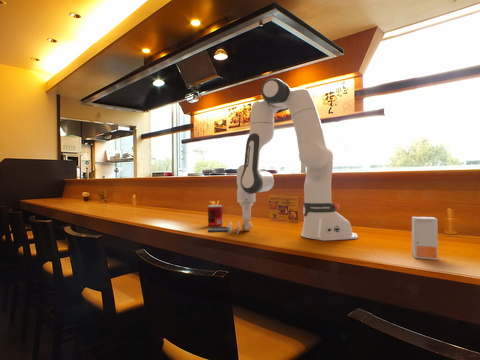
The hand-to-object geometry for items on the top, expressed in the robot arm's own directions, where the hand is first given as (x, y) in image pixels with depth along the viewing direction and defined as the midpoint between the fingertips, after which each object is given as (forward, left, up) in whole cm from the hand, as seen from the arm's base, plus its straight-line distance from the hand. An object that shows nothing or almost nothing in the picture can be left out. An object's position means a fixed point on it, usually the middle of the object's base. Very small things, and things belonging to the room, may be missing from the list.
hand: (246, 227), depth 139 cm
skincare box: (-53, +51, -2) cm, 74 cm away
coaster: (+14, -3, -2) cm, 14 cm away
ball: (0, 0, -2) cm, 2 cm away
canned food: (+17, -18, -2) cm, 25 cm away
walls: (+6, 0, -2) cm, 6 cm away
